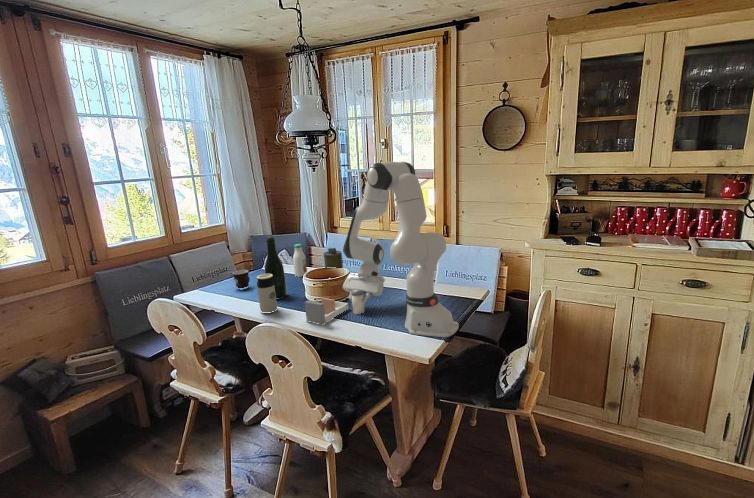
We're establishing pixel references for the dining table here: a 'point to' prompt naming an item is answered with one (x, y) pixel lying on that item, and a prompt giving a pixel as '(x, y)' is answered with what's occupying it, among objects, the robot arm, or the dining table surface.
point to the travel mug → (266, 293)
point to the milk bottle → (299, 261)
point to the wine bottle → (275, 268)
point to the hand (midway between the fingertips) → (357, 301)
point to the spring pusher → (328, 305)
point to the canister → (333, 258)
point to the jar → (357, 301)
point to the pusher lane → (337, 310)
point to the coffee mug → (241, 278)
